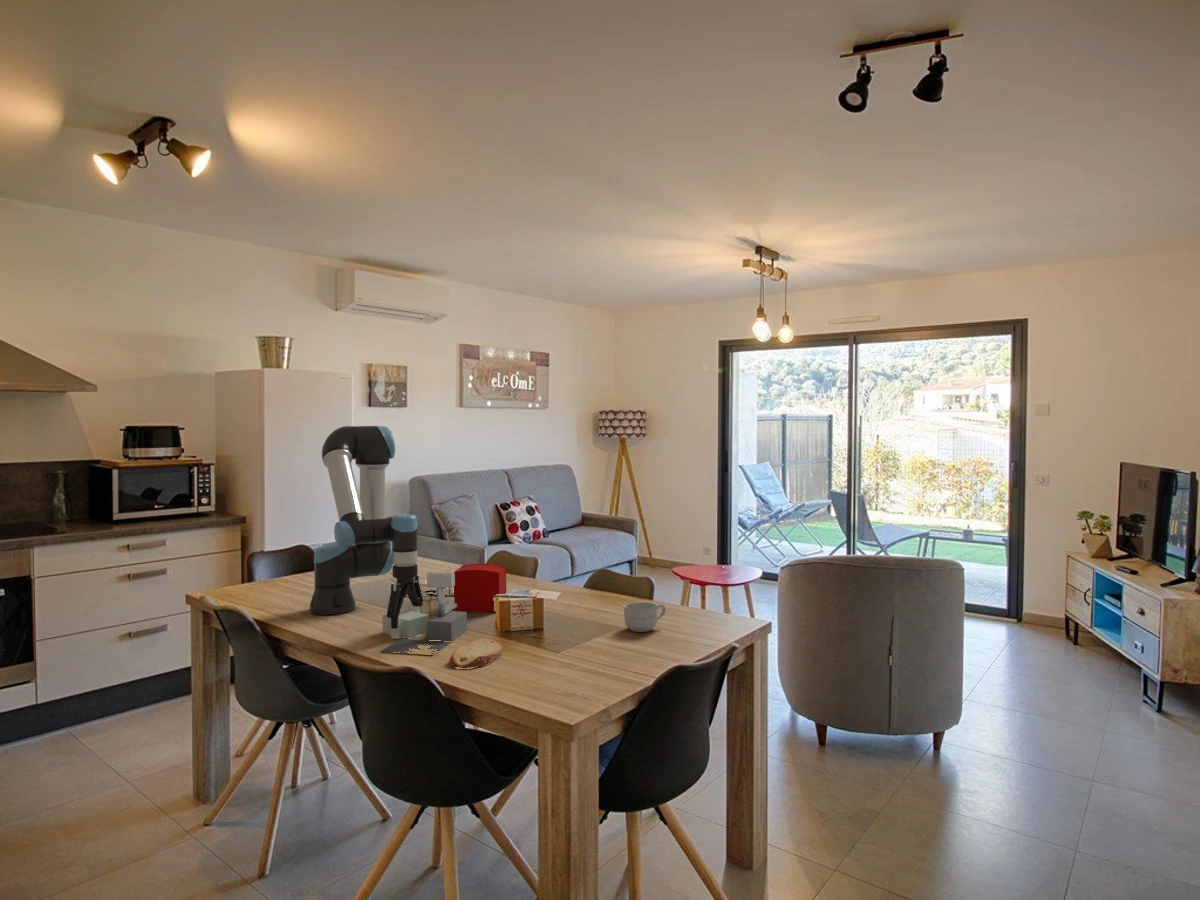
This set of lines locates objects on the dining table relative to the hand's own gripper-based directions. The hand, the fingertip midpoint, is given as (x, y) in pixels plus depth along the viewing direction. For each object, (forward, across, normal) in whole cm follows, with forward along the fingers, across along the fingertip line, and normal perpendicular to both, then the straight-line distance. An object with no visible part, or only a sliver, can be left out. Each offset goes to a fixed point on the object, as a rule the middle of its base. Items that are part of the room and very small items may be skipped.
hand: (405, 632), depth 223 cm
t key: (-6, -4, +12) cm, 14 cm away
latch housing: (0, 0, +14) cm, 14 cm away
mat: (0, +13, +10) cm, 16 cm away
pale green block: (0, 0, 0) cm, 0 cm away
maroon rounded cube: (0, -33, +12) cm, 35 cm away
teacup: (+1, -19, +73) cm, 75 cm away
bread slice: (+1, +17, +30) cm, 34 cm away
